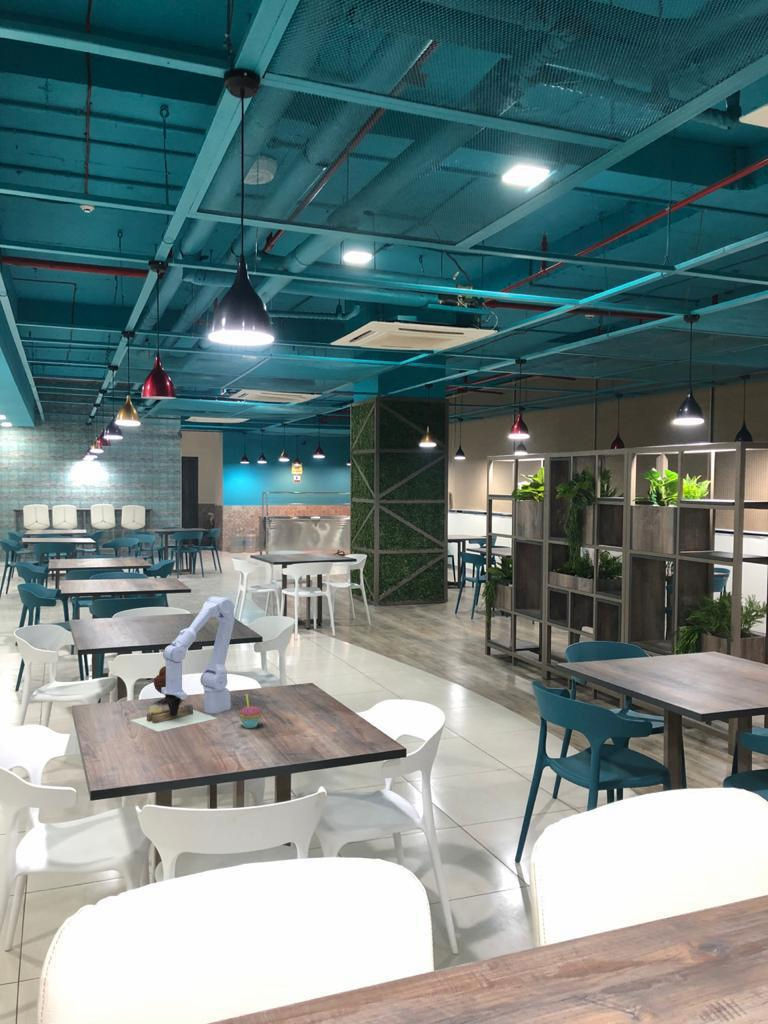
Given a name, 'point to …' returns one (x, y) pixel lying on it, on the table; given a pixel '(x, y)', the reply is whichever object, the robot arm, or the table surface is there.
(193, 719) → the serving board
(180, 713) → the tong jaw
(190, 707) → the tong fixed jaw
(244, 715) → the cupcake
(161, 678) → the ice cream bowl
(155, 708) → the pale yellow rectangular block
